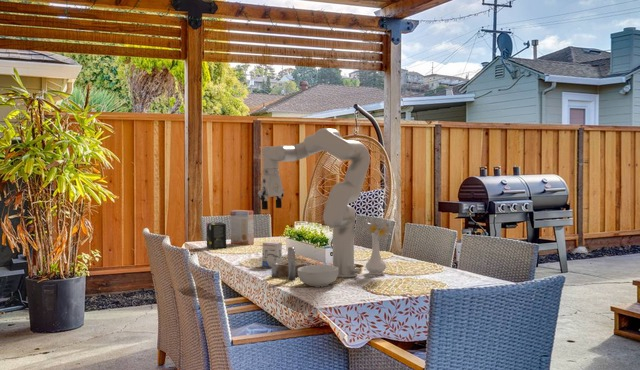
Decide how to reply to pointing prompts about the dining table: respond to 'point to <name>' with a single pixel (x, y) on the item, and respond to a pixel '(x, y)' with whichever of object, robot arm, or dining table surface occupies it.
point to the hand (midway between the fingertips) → (271, 208)
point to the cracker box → (242, 227)
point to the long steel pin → (291, 263)
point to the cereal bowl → (318, 274)
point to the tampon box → (216, 235)
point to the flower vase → (376, 244)
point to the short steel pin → (274, 269)
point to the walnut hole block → (284, 268)
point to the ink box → (271, 253)
